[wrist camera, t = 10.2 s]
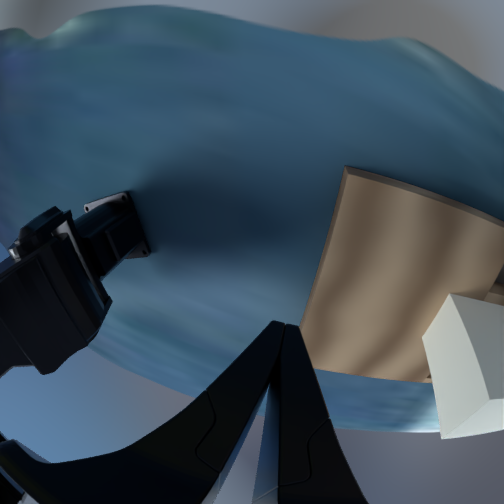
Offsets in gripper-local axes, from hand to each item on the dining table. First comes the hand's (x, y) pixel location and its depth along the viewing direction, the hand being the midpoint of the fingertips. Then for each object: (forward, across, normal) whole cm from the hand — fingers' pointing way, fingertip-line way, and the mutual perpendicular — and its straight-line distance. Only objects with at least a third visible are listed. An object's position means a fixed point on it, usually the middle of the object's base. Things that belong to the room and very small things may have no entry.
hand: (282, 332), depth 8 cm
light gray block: (+10, -20, +6) cm, 23 cm away
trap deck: (+13, -15, +6) cm, 21 cm away
